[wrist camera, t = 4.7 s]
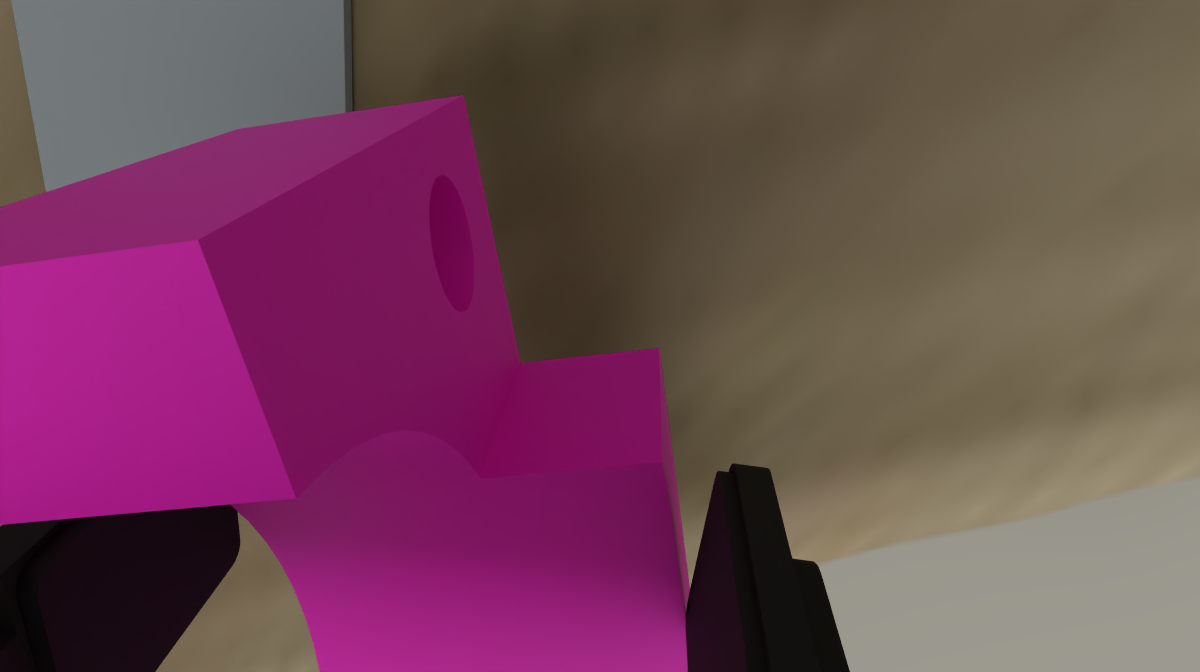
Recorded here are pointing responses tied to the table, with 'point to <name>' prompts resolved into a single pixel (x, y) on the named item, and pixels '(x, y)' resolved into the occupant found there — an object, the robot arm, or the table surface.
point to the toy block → (343, 397)
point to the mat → (173, 74)
